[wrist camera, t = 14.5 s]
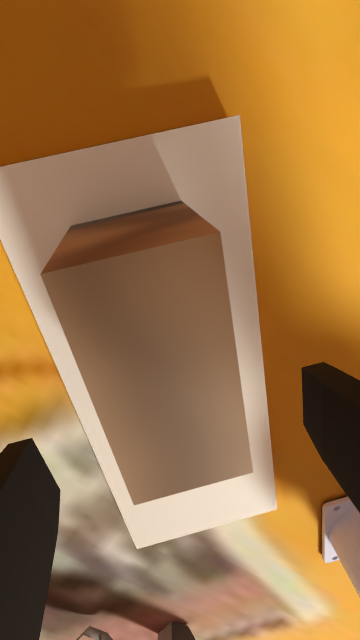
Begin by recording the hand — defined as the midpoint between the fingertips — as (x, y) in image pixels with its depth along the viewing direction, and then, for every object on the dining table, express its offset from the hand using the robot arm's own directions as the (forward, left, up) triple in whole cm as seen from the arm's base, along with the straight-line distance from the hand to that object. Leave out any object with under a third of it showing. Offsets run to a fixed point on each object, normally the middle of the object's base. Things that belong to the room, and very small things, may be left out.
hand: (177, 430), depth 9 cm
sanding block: (0, 0, -8) cm, 8 cm away
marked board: (0, +5, -9) cm, 10 cm away
